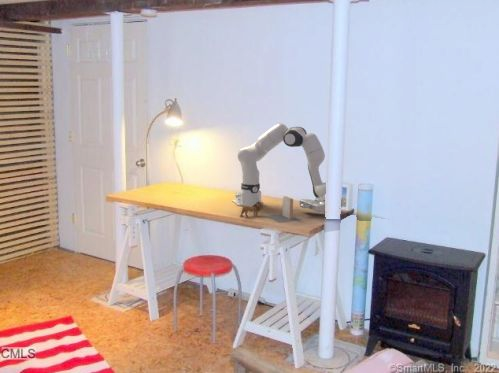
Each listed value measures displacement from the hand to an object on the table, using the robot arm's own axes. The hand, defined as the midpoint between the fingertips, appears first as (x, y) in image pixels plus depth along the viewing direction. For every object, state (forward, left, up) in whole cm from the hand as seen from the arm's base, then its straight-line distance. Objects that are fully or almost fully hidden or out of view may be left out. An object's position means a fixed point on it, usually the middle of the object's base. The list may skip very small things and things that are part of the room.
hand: (301, 206), depth 331 cm
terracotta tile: (0, -10, -6) cm, 12 cm away
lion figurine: (-14, -27, -7) cm, 31 cm away
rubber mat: (0, -13, -6) cm, 14 cm away
